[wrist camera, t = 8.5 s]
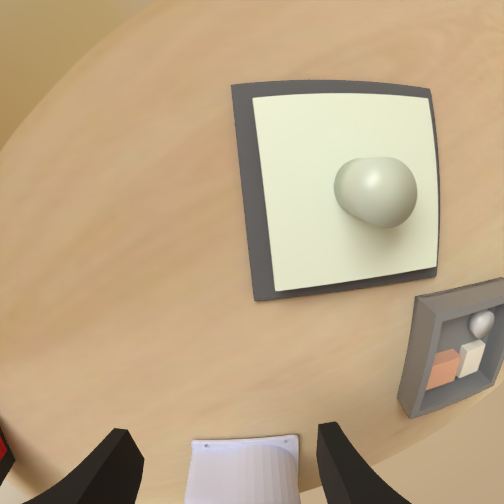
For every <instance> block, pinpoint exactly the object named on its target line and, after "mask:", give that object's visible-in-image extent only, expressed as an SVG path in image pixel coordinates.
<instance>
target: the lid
mask: <svg viewBox="0 0 504 504" xmlns="http://www.w3.org/2000/svg"><path fill="white" fill-rule="evenodd" d="M252 101H253V109H254V116H255V124H256V132H257V139H258V147H259V155H260V163H261V172H262V180H263V188H264V196H265V205H266V214H267V222H268V231H269V240H270V249H271V258H272V268H273V277H274V286H275V291H283V290H290V289H298V288H305V287H313V286H320V285H327V284H334V283H341V282H347V281H354V280H360V279H367V278H373V277H379V276H385V275H391V274H397V273H403V272H409V271H414V270H420V269H425V268H431V267H436V263H437V245H438V186H437V168H436V155H435V145H434V136H433V128H432V120H431V113H430V107H429V101H428V98H420V97H410V96H399V95H384V94H360V93H320V94H295V95H280V96H267V97H257V98H253V99H252Z"/></svg>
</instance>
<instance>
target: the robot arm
mask: <svg viewBox="0 0 504 504" xmlns="http://www.w3.org/2000/svg"><path fill="white" fill-rule="evenodd" d="M191 446H192V449H193V451H192V457H191V462H190V468H189V475H188V481H187V487H186V493H185V503H184V504H301V502H300V496H299V488H298V481H297V478H298V472H299V439H298V436H297V435H294V434H293V435H284V436H275V437H264V438H250V439H230V440H193V441H192V442H191ZM316 456H317V462H318V468H319V474H320V479H321V482H322V486H323V489H324V492H325V496H326V499H327V502H328V504H411V503H410V502H409V501H407V500H406V499H405V498H403V497H402V496H401V495H399V494H398V493H397V492H396V491H395V490H393V489H392V488H391V487H390V486H389V485H388V484H387V483H385V481H383V480H382V479H381V478H380V477H379V476H378V475H377V474H376V473H375V472H374V471H373V470H372V468H371V467H370V466H369V465H368V464H367V463H366V462H365V460H364V459H363V458H362V457H361V456H360V454H359V453H358V452H357V451H356V449H355V448H354V447H353V445H352V444H351V443H350V441H349V440H348V439H347V437H346V436H345V434H344V433H343V431H342V429H341V428H340V426H339V425H338V423H337V422H329V423H324V424H318V439H317V452H316ZM143 466H144V457H143V456H142V454H141V452H140V451H139V449H138V447H137V445H136V444H135V442H134V440H133V438H132V437H131V435H130V433H129V431H128V430H126V429H118V428H114V429H113V430H112V431H111V432H110V433H109V434H108V435H107V436H106V437H105V439H104V440H103V441H102V442H101V443H100V444H99V445H98V446H97V447H96V448H95V449H94V450H93V451H92V452H91V453H90V454H89V455H88V456H87V457H86V458H85V459H84V460H83V461H82V462H81V463H80V464H79V465H78V466H77V467H76V468H75V469H74V470H73V471H71V472H70V473H69V474H68V475H67V476H66V477H65V478H63V479H62V480H61V481H60V482H58V483H57V484H55V485H54V486H53V487H51V488H50V489H48V490H47V491H45V492H43V493H42V494H40V495H38V496H36V497H34V498H33V499H31V500H29V501H27V502H24V503H23V504H135V500H136V497H137V494H138V490H139V487H140V483H141V480H142V473H143Z"/></svg>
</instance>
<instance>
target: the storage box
mask: <svg viewBox="0 0 504 504" xmlns="http://www.w3.org/2000/svg"><path fill="white" fill-rule="evenodd" d="M503 360H504V278H502V277H500V278H496V279H492V280H488V281H484V282H480V283H476V284H472V285H467V286H463V287H458V288H454V289H449V290H445V291H440V292H435V293H430V294H425V295H420V296H415V302H414V311H413V318H412V325H411V331H410V338H409V344H408V349H407V355H406V360H405V365H404V369H403V374H402V379H401V383H400V387H399V391H398V396H397V398H398V400H399V402H400V404H401V405H402V407H403V409H404V411H405V412H406V414H407V416H408V418H409V419H413V418H416V417H419V416H422V415H425V414H428V413H430V412H433V411H436V410H439V409H441V408H444V407H446V406H449V405H451V404H454V403H456V402H459V401H461V400H463V399H466V398H468V397H470V396H473V395H475V394H477V393H479V392H481V391H483V390H485V389H487V388H490V387H492V386H493V385H494V383H495V381H496V378H497V376H498V373H499V370H500V368H501V365H502V362H503Z"/></svg>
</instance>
